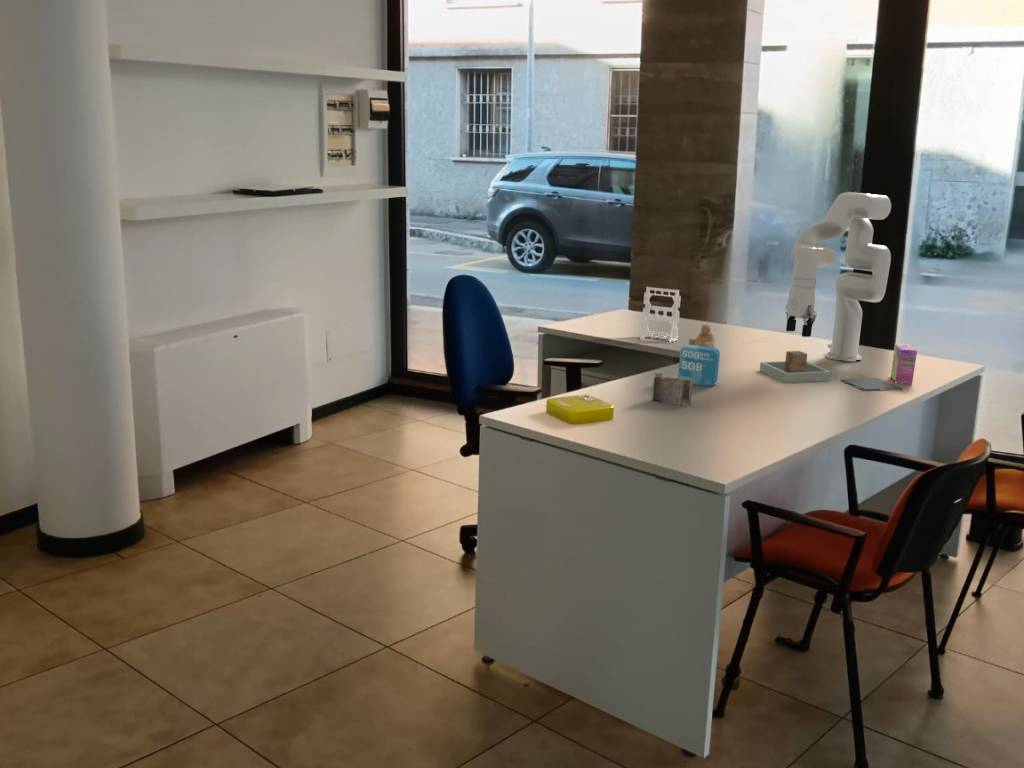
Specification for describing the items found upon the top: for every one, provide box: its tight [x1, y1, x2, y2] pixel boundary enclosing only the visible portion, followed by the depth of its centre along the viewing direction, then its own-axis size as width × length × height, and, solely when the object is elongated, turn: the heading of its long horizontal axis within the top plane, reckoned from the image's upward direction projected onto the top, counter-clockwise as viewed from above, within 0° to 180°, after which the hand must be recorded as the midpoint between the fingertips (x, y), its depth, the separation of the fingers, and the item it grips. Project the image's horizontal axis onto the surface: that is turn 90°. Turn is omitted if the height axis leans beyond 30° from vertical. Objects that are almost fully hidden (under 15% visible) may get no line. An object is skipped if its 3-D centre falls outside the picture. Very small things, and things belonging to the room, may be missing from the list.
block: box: [783, 350, 808, 373], centre depth 358 cm, size 5×5×8 cm
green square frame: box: [759, 360, 832, 383], centre depth 359 cm, size 17×17×3 cm
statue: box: [687, 323, 715, 348], centre depth 379 cm, size 12×14×10 cm
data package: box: [677, 344, 721, 387], centre depth 342 cm, size 12×4×12 cm, turn 65°
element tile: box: [545, 394, 615, 426], centre depth 300 cm, size 15×15×5 cm
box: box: [890, 342, 918, 385], centre depth 356 cm, size 10×6×12 cm, turn 168°
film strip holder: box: [640, 286, 682, 342], centre depth 410 cm, size 14×14×20 cm
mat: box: [839, 377, 903, 391], centre depth 350 cm, size 14×14×1 cm
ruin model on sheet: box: [651, 371, 694, 407], centre depth 317 cm, size 11×3×10 cm, turn 69°
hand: (798, 333), depth 355 cm, fingers open, 9 cm apart
